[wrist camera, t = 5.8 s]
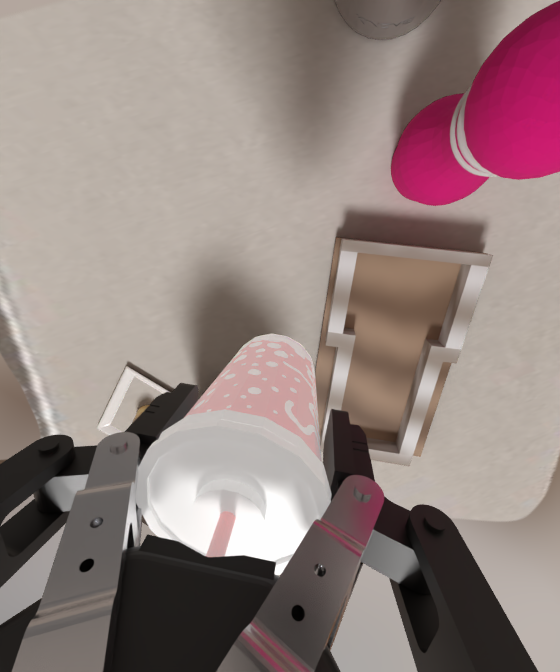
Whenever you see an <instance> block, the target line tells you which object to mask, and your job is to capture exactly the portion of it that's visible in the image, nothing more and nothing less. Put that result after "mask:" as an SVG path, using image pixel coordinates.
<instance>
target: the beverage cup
mask: <svg viewBox="0 0 560 672" xmlns="http://www.w3.org/2000/svg"><path fill="white" fill-rule="evenodd" d="M331 495H332V494H331V490H330V486H329V483H328V479H327V475H326V471H325V468H324V465H323V463H322V462H321V449H320V435H319V422H318V408H317V394H316V380H315V370H314V366H313V362H312V358H311V356H310V355H309V354H308V352H307V351H306V350H305V348H304V347H303V346H302V345H301V344H300V343H298V342H296V341H295V340H293V339H291V338H290V337H288V336H283V335H277V334H272V333H271V334H266V335H261V336H257V337H255V338H253V339H252V340H250V341H249V342H247V343H246V344H244V345H243V346H242V348H241V349H240V350H239V351H238V353H237V354H236V355H235V356H234V357H233V359H232V360H231V361H230V362H229V363H228V365H227V366H226V367H225V368H224V370H223V371H222V372H221V373H220V374H219V376H218V377H217V378H216V379H215V381H214V382H213V383H212V384H211V385H210V387H209V388H208V389H207V390H206V391H205V393H204V394H203V395H202V396H201V398H200V399H199V400H198V401H197V402H196V404H195V405H194V406H193V407H192V408H191V410H190V411H189V412H188V413H187V415H186V416H185V417H184V418H183V419H182V420H180V421H178V422H177V423H175V424H174V425H172V426H171V427H169V428H167V429H166V430H164V431H163V432H162V433H161V435H160V437H159V439H158V440H156V441H155V442H153V443H152V444H151V446H150V447H149V448H148V450H147V452H146V454H145V456H144V458H143V459H142V461H141V463H140V465H139V467H138V481H137V490H136V504H137V506H138V508H141V509H142V515H143V517H144V519H145V520H146V522H147V524H148V526H149V527H150V529H151V531H152V532H154V533H155V534H156V535H157V536H158V537H161V538H166V539H170V540H175V541H179V542H181V543H182V544H184V545H186V546H188V547H190V548H191V549H193V550H195V551H197V552H199V553H200V554H202V555H204V556H206V557H222V556H238V555H245V556H250V557H255V558H259V559H264V560H269V561H273V562H276V567H275V575H279V574H282V572H283V570H284V569H285V567H286V566H287V564H288V562H289V561H290V559H291V558H292V556H293V554H294V553H295V551H296V549H297V548H298V546H299V545H300V543H301V541H302V540H303V538H304V537H305V535H306V533H307V532H308V530H309V528H310V527H311V525H312V524H313V522H314V521H315V520H316V519H319V520H320V519H321V518H322V516H323V514H324V513H325V511H326V509H327V508H328V506H329V504H330V503H331Z"/></svg>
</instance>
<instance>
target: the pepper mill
mask: <svg viewBox="0 0 560 672" xmlns="http://www.w3.org/2000/svg"><path fill="white" fill-rule="evenodd" d="M559 171H560V1H558V2H555V3H553V4H551V5H550V6H548V7H546V8H544V9H542V10H540V11H538V12H537V13H535V14H533V15H532V16H530V17H529V18H527V19H526V20H525V21H524V22H522V23H521V24H520V25H519V26H517V27H516V28H515V29H514V30H513V31H511V32H510V33H509V34H508V35H507V36H506V37H505V38H504V39H503V40H502V41H501V42H500V43H499V45H498V46H497V47H496V48H495V49H494V51H493V52H492V53H491V54H490V56H489V57H488V58H487V59H486V61H485V62H484V63H483V65H482V66H481V68H480V70H479V72H478V74H477V75H476V77H475V79H474V81H473V84H472V85H471V86H470V87H469V89H468V90H467V91H466V92H465V93H463V94H455V95H450V96H446V97H443V98H441V99H439V100H436V101H434V102H433V103H431V104H430V105H428V106H427V107H425V108H424V109H423V110H421V111H420V112H419V113H418V114H417V115H416V116H415V117H414V118H413V119H412V120H411V121H410V122H409V124H408V125H407V127H406V128H405V130H404V132H403V134H402V135H401V137H400V140H399V143H398V146H397V148H396V150H395V152H394V155H393V158H392V164H391V175H392V179H393V182H394V185H395V187H396V188H397V190H398V191H399V192H400V193H401V194H402V195H403V196H404V197H406V198H408V199H410V200H413V201H417V202H419V203H422V204H426V205H433V206H437V205H445V204H449V203H452V202H455V201H457V200H460V199H463V198H464V197H466V196H468V195H470V194H471V193H473V192H474V191H475V190H477V189H478V188H479V187H480V186H481V185H482V184H483V183H484V182H485V181H486V180H487V179H488V178H489V177H495V176H500V177H503V178H511V179H518V180H519V179H529V178H540V177H543V176H546V175H550V174H553V173H556V172H559Z"/></svg>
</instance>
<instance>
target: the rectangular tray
mask: <svg viewBox="0 0 560 672" xmlns="http://www.w3.org/2000/svg"><path fill="white" fill-rule="evenodd" d="M492 257H493V255H488V254H486V253H480V252H470V251H461V250H452V249H442V248H433V247H424V246H414V245H405V244H396V243H386V242H377V241H367V240H358V239H349V238H339V237H336V241H335V247H334V254H333V260H332V267H331V273H330V280H329V286H328V293H327V299H326V306H325V312H324V319H323V325H322V332H321V338H320V344H319V351H318V357H317V364H316V370H315V380H316V394H317V408H318V422H319V435H320V449H321V452H323V449H324V440H325V434H326V430H327V425H328V420H329V415H330V411H331V409H336V410H342V411H347V412H348V413H349V420H350V424H354V425H359V426H360V427H361V429H362V430H363V431H364V433H365V434H366V438H367V445H368V449H369V454H370V459H371V460H374V461H380V462H386V463H392V464H398V465H404V466H410V463H411V460H412V457H413V456H419V457H420V456H421V453H422V450H423V447H424V444H425V441H426V438H427V435H428V432H429V429H430V426H431V423H432V420H433V417H434V414H435V411H436V408H437V405H438V402H439V399H440V396H441V393H442V390H443V387H444V384H445V381H446V378H447V375H448V372H449V369H450V366H451V363H457V360H458V358H459V355H460V352H461V349H462V346H463V343H464V340H465V337H466V334H467V331H468V328H469V325H470V322H471V319H472V316H473V313H474V310H475V307H476V304H477V301H478V298H479V295H480V293H481V290H482V287H483V284H484V281H485V278H486V275H487V272H488V269H489V266H490V263H491V260H492Z"/></svg>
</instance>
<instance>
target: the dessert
mask: <svg viewBox="0 0 560 672" xmlns="http://www.w3.org/2000/svg"><path fill="white" fill-rule="evenodd" d="M133 377H136V378H138V379H139V380H141V381H143V382H144V383H146V384H148V385H149V386H151V387H153V388H154V389H156V390H158V391H159V392H161V393H163V394H164V393H165V392H169V391H168V390H166V389H164V388H163V387H161V386H159V385H158V384H156V383H154V382H153V381H151V380H149V379H148V378H146V377H144V376H143V375H141V374H139V373H138V372H136V371H134V370H133V369H131V368H129V367H128V366H126V367H125V369H124V372H123V374H122V376H121V378H120V380H119V382H118V384H117V386H116V388H115V390H114V393H113V395H112V397H111V399H110V401H109V403H108V405H107V407H106V409H105V411H104V414H103V416H102V418H101V420H100V422H99V424H98V426H97V429H98V430H100V431H102V432H103V433H105V434H107V435H112V434H115V433H119V432H122V431H120V430H119V429H117V428H115V427H113V426H112V425H111V422H112V420H113V418H114V416H115V414H116V412H117V410H118V408H119V406H120V404H121V402H122V400H123V398H124V396H125V394H126V391H127V389H128V387H129V385H130V383H131V381H132V379H133ZM148 406H150V405H145V406H142V407H141V408H139V409H138V411H137V413H136V416H135V418H134V420H133V422H134V421H135V420H136V419H137V418H138V417H139V416H140V415H141V414H142V412H144V410H145V409H146V408H147V407H148ZM133 422H132V423H133Z"/></svg>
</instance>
